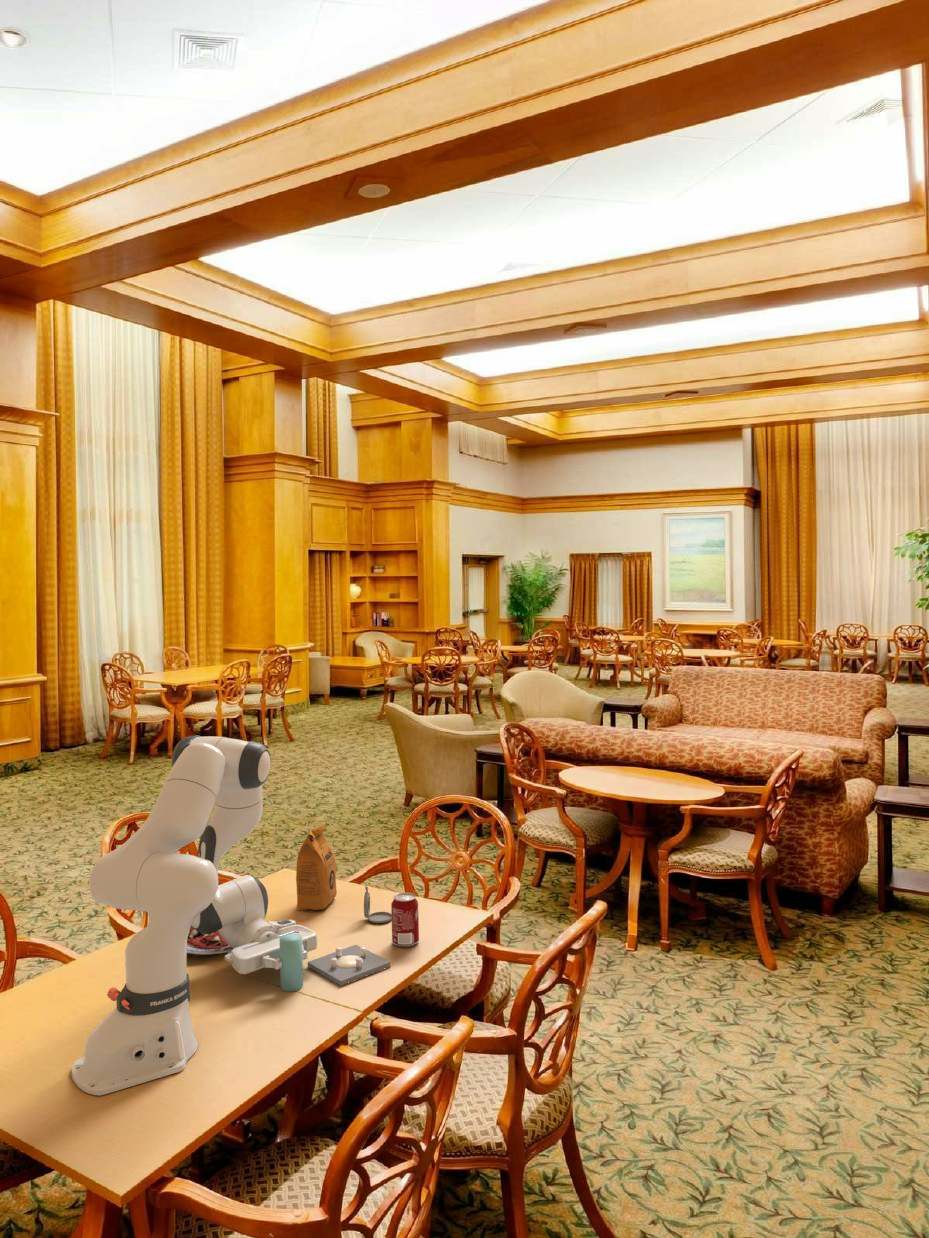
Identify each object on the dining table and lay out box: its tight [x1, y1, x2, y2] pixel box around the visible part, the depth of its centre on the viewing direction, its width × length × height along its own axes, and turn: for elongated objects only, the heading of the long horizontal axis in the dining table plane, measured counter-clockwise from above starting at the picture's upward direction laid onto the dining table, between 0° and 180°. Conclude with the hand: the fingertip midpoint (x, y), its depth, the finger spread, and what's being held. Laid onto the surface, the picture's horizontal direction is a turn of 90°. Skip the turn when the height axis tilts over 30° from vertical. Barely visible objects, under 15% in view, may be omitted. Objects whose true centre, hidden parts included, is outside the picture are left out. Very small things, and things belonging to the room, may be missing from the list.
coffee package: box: [295, 824, 337, 911], centre depth 240 cm, size 10×12×22 cm
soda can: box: [391, 892, 420, 948], centre depth 212 cm, size 7×7×12 cm
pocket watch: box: [363, 883, 392, 924], centre depth 228 cm, size 8×8×10 cm
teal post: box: [279, 934, 304, 992], centre depth 189 cm, size 5×5×11 cm
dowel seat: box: [307, 944, 391, 987], centre depth 199 cm, size 14×14×3 cm
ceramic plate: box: [187, 926, 234, 955], centre depth 216 cm, size 26×26×3 cm
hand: (292, 960), depth 189 cm, fingers closed on teal post, 5 cm apart
